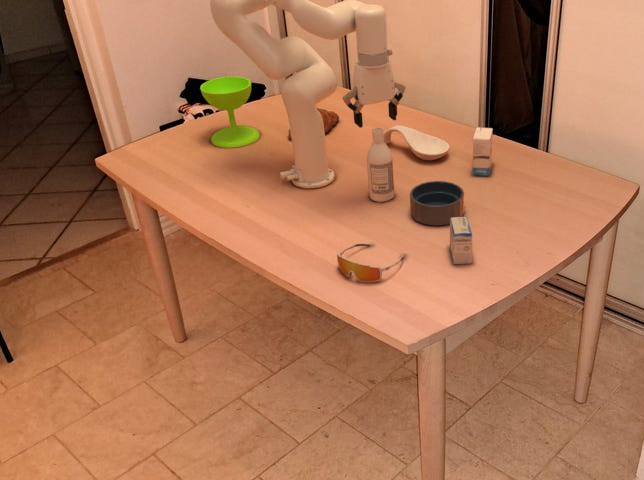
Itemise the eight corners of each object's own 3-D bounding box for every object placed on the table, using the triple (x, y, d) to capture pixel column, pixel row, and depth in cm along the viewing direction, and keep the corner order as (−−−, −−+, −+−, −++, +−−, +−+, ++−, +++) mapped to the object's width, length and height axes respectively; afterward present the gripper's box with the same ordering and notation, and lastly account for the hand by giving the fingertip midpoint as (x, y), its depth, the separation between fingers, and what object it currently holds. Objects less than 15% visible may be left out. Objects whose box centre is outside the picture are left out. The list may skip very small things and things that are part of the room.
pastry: (334, 140, 231) (332, 116, 226) (287, 141, 231) (284, 117, 227) (339, 120, 245) (337, 97, 240) (295, 121, 245) (292, 98, 241)
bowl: (426, 231, 182) (425, 211, 178) (401, 208, 192) (401, 188, 189) (473, 218, 187) (474, 198, 183) (447, 195, 197) (447, 176, 194)
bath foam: (398, 198, 197) (395, 131, 185) (375, 204, 194) (370, 137, 183) (388, 188, 202) (384, 122, 190) (365, 194, 199) (360, 127, 188)
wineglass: (201, 143, 231) (189, 90, 221) (229, 125, 244) (219, 74, 233) (242, 150, 226) (232, 96, 216) (268, 131, 238) (260, 79, 228)
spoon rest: (456, 154, 220) (456, 132, 215) (435, 168, 212) (435, 146, 208) (394, 138, 231) (393, 117, 227) (373, 151, 223) (371, 129, 219)
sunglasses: (327, 272, 167) (326, 253, 165) (363, 250, 179) (364, 232, 177) (376, 289, 161) (376, 270, 159) (411, 265, 173) (412, 247, 170)
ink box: (488, 176, 206) (490, 139, 199) (472, 175, 207) (472, 138, 200) (492, 164, 213) (493, 127, 206) (475, 163, 214) (476, 126, 207)
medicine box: (449, 247, 175) (449, 217, 170) (467, 246, 175) (467, 215, 171) (453, 265, 169) (453, 234, 164) (472, 263, 169) (472, 232, 164)
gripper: (397, 48, 182) (399, 111, 192) (334, 59, 176) (340, 123, 185) (410, 56, 176) (411, 120, 186) (346, 67, 170) (351, 134, 180)
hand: (376, 122), depth 186 cm, fingers open, 9 cm apart
